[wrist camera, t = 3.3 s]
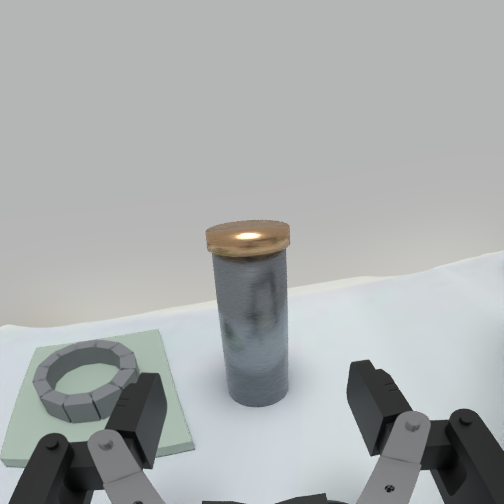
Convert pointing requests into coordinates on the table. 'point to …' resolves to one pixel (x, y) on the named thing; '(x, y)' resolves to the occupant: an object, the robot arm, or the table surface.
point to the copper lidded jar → (252, 307)
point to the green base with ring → (88, 393)
